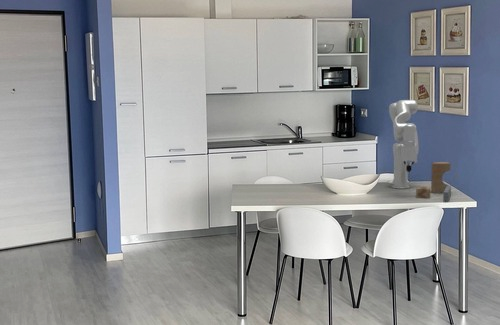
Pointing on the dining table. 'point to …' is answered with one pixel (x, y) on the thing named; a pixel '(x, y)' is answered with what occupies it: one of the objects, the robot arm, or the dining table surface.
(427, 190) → the walnut block
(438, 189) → the decorative block
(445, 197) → the charcoal board
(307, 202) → the dining table surface
